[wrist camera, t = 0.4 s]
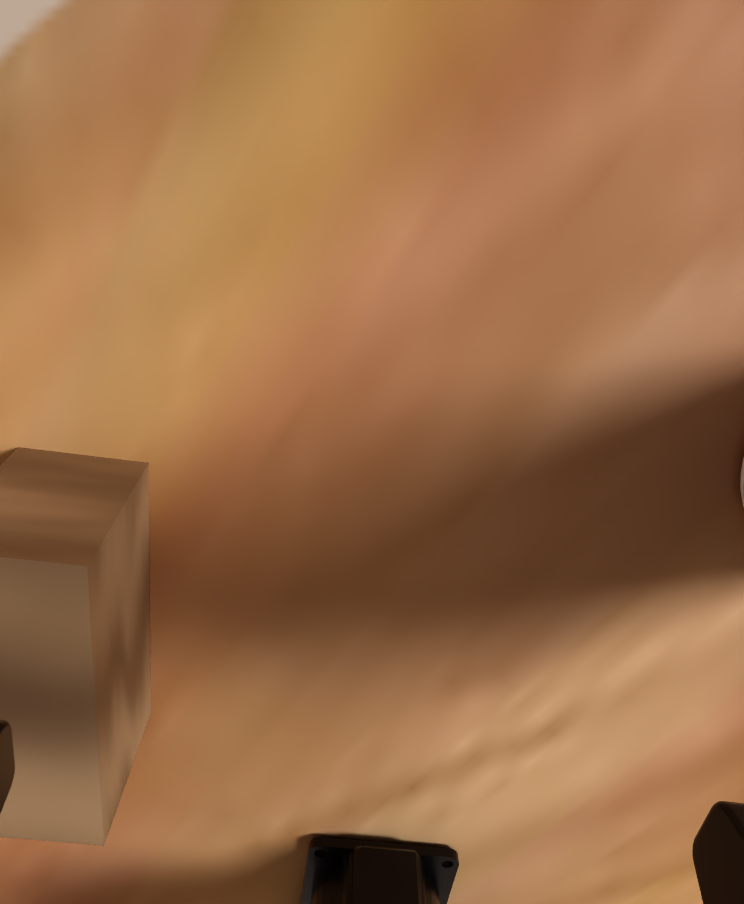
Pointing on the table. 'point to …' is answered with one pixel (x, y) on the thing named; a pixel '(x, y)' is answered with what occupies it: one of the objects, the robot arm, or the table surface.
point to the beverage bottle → (742, 482)
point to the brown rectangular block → (72, 638)
